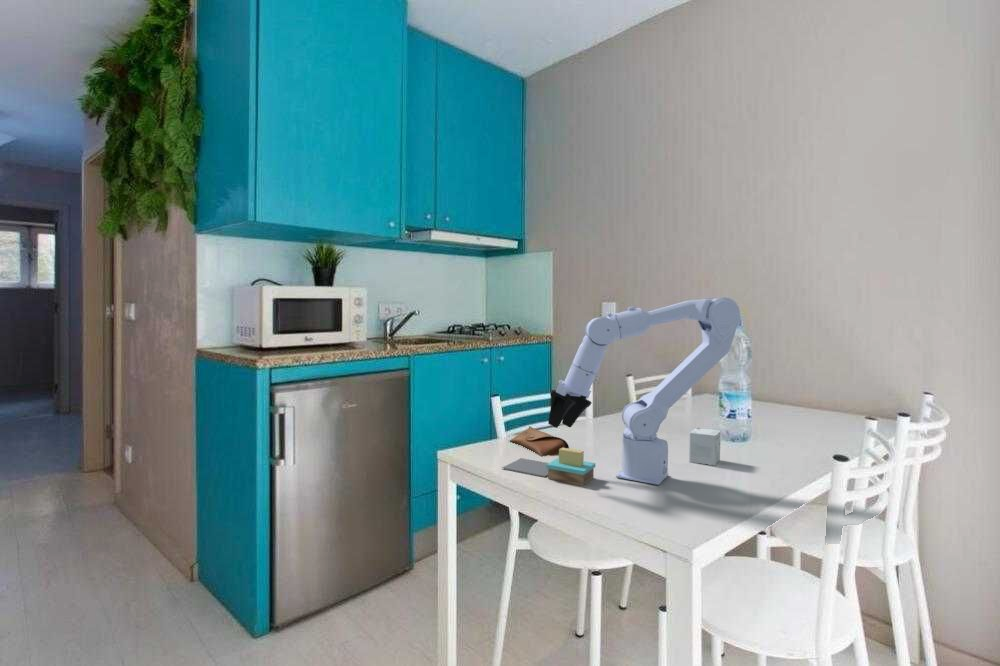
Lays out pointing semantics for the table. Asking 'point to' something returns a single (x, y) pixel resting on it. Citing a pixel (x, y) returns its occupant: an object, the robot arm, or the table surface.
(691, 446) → the skincare box
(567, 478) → the box
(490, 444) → the table surface
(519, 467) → the mat
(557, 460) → the lid
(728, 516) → the table surface
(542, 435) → the sunglasses case
